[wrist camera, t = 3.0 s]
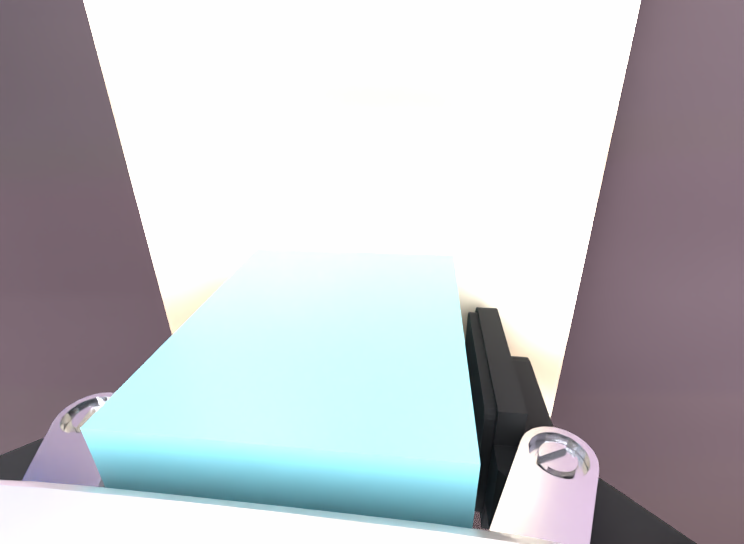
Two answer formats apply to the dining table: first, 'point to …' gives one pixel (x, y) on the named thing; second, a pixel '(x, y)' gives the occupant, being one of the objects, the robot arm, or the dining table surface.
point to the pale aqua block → (307, 393)
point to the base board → (372, 140)
